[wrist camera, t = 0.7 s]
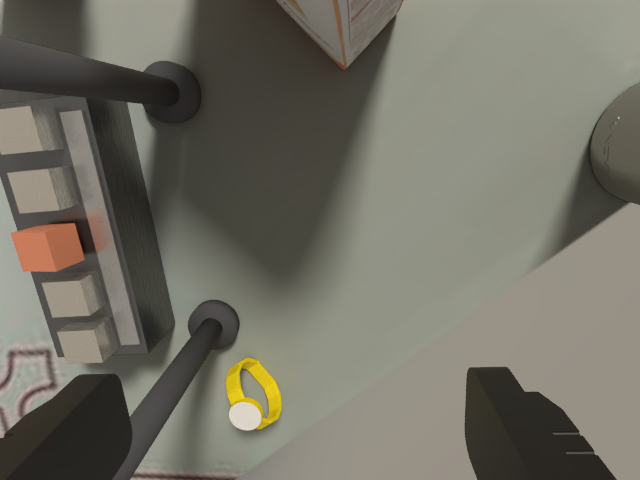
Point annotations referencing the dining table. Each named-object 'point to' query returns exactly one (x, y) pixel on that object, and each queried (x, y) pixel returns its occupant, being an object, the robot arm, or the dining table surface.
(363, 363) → the dining table surface
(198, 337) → the stand
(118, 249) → the breaker strip
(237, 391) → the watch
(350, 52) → the cracker box
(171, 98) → the stand
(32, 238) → the breaker paddle
